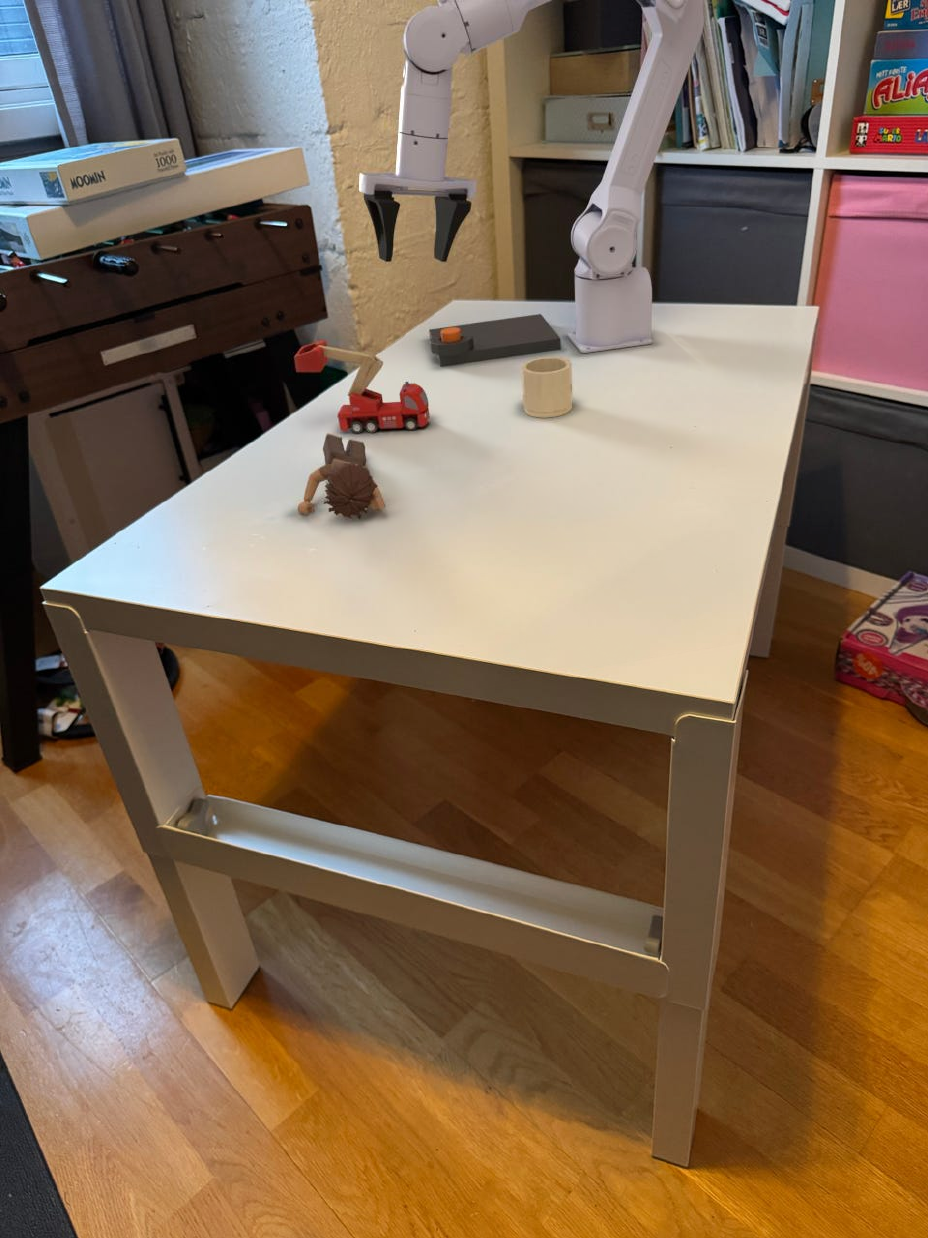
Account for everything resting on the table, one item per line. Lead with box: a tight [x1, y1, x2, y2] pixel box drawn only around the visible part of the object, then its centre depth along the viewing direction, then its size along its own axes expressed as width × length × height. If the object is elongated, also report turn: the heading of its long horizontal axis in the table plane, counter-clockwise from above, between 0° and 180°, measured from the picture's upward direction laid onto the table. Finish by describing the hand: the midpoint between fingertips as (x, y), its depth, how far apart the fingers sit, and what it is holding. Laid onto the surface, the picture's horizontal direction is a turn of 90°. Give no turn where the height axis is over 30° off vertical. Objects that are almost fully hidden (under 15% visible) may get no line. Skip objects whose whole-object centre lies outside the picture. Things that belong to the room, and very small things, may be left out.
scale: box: [428, 313, 562, 368], centre depth 118 cm, size 17×13×3 cm
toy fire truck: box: [293, 340, 431, 434], centre depth 97 cm, size 3×14×10 cm, turn 84°
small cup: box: [520, 356, 574, 419], centre depth 98 cm, size 5×6×5 cm
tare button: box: [441, 326, 461, 342], centre depth 114 cm, size 3×3×1 cm
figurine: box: [297, 432, 387, 520], centre depth 85 cm, size 8×5×15 cm
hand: (413, 259), depth 108 cm, fingers open, 7 cm apart
